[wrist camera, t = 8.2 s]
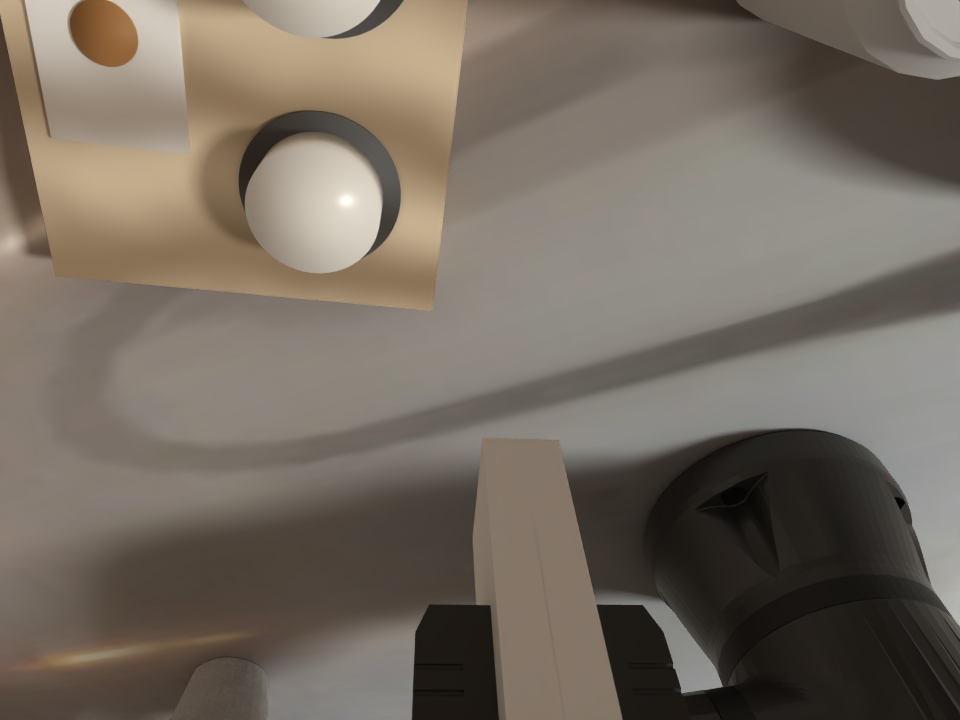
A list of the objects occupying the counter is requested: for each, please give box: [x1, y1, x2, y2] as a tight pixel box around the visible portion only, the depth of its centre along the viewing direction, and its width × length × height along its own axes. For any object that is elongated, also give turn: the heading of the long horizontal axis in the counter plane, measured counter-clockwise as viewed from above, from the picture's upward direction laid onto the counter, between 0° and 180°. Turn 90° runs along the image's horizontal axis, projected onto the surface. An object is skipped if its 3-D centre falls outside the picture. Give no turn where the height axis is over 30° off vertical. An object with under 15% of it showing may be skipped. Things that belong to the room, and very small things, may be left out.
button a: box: [245, 131, 383, 273], centre depth 27 cm, size 5×5×2 cm
